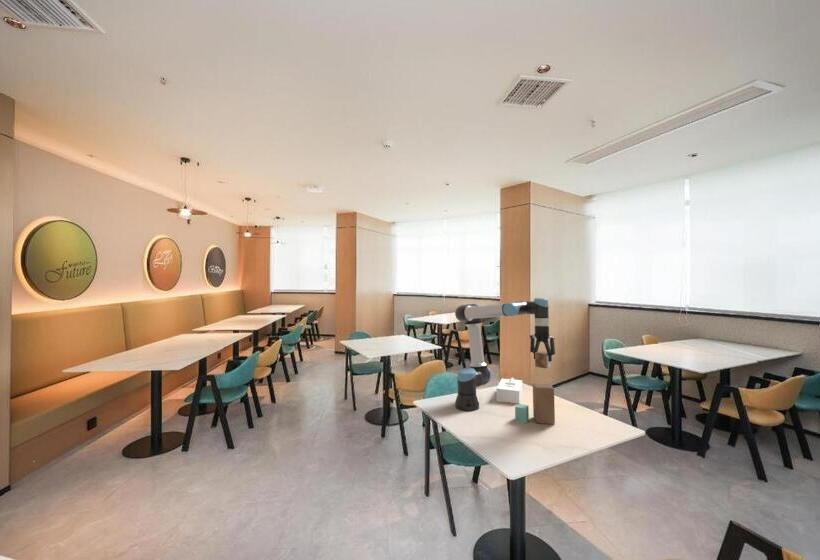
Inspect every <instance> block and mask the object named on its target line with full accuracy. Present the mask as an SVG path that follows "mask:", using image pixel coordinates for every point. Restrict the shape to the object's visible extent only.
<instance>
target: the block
mask: <svg viewBox="0 0 820 560" xmlns="http://www.w3.org/2000/svg"><path fill="white" fill-rule="evenodd" d="M532 406H533V407H532V410H533V412H532V416H533V419H534V420H535V422H536V423H537V424H545V425H547V424H548V425H555V423H556V413H555V412H556V411H555V408H556V407H555V388H554V386H553V385H552V384H551V383H547V382H533V383H532Z"/></svg>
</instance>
